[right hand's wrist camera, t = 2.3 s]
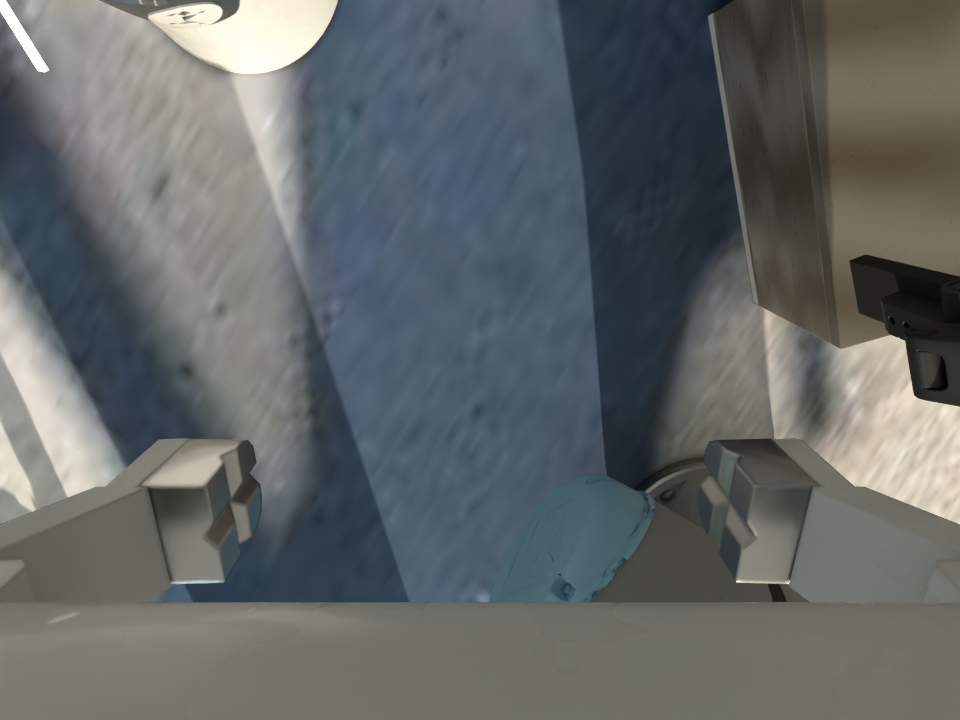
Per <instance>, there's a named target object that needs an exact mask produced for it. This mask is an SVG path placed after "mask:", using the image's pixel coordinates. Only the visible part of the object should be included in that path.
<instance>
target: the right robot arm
mask: <svg viewBox="0 0 960 720" xmlns="http://www.w3.org/2000/svg"><path fill="white" fill-rule="evenodd" d="M100 1H103V2H105V3H107V4H109V5H111V6H114V7H116V8H118V9H121V10H123V11H125V12H128V13H130V14H133V15H136V16H138V17H141V18H144V19H147V20H149V21H151V22H152V23H153V24H155V25H156V26H157V27H159V28H160V29H161V30H162V31H164V32H165V33H166V34H167V35H168V36H169V37H170V38H171V39H172V40H173V41H175V42H176V43H177V44H178V45H179V46H180V47H181V48H183V49H184V50H185V51H187V52H188V53H189V54H191V55H192V56H194V57H195V58H197V59H199V60H201V61H202V62H204V63H206V64H209V65H211V66H213V67H216V68H219V69H222V70H225V71H229V72H235V73H243V74H257V73H265V72H270V71H274V70H277V69H280V68H282V67H284V66H287V65H289V64H291V63H292V62H294V61H296V60H297V59H299V58H300V57H302V56H303V55H304V54H305V53H306V52H308V51H309V50H310V49H311V48H312V47H313V46H314V44H315V43H316V42H317V41H318V40H319V38H320V37H321V36H322V34H323V33H324V31H325V29H326V28H327V26H328V24H329V22H330V20H331V18H332V16H333V14H334V11H335V8H336V5H337V2H338V0H100ZM0 11H1V13H2V14H3V16H4V18H5V19H6V21H7V22H8V24H9V26H10V27H11V29H12V30H13V32H14V34H15V35H16V37H17V38H18V40H19V42H20V43H21V45H22V46H23V48H24V49H25V51H26V53H27V54H28V56H29V57H30V59H31V61H32V62H33V64H34V65H35V67H36V69H37V70H38V71H42V72H46V71H48V70H49V69H48V68H47V66H46V64H45V63H44V61H43V60H42V58H41V56H40V55H39V53H38V52H37V50H36V48H35V47H34V45H33V44H32V42H31V40H30V39H29V37H28V36H27V34H26V32H25V31H24V29H23V28H22V26H21V24H20V23H19V21H18V20H17V18H16V16H15V15H14V13H13V11H12V10H11V8H10V7H9V5H8V3H7V2H6V0H0ZM255 464H256V458H255V453H254V447H253V445H252V444H251V443H250V442H249V441H248V440H218V439H190V438H185V439H161V440H158V441H156V442H155V443H154V444H153V445H152V446H151V447H150V448H149V449H147V450H146V451H145V452H144V453H143V454H142V455H141V456H140V457H138V458H137V459H136V460H135V461H134V462H133V463H132V464H130V465H129V466H128V467H127V468H126V469H125V470H124V471H123V472H121V473H120V474H119V475H118V476H117V477H116V478H115V479H114V480H112V481H111V482H110V483H109V484H108V485H107V486H106V487H94V488H92V489H89V490H87V491H84V492H81V493H79V494H76V495H74V496H71V497H69V498H66V499H64V500H61V501H59V502H56V503H54V504H51V505H49V506H46V507H43V508H41V509H38V510H36V511H33V512H31V513H28V514H26V515H23V516H21V517H18V518H16V519H13V520H10V521H8V522H5V523H3V524H0V720H960V525H959V524H957V523H954V522H952V521H949V520H947V519H944V518H942V517H939V516H937V515H934V514H932V513H929V512H927V511H924V510H921V509H919V508H916V507H914V506H911V505H909V504H906V503H904V502H901V501H899V500H896V499H894V498H891V497H889V496H886V495H884V494H881V493H878V492H876V491H873V490H871V489H868V488H866V487H854V486H853V485H852V484H851V483H850V482H849V481H848V480H847V479H845V478H844V477H843V476H842V475H841V474H840V473H839V472H838V471H836V470H835V469H834V468H833V467H832V466H831V465H830V464H829V463H827V462H826V461H825V460H824V459H823V458H822V457H821V456H820V455H818V454H817V453H816V452H815V451H814V450H813V449H812V448H810V447H809V446H808V445H807V444H806V443H805V442H804V441H803V440H799V439H796V438H790V439H743V440H715V441H710V442H709V444H708V446H707V448H706V451H705V457H704V464H705V466H706V467H707V469H708V470H709V472H710V474H709V475H708V476H707V478H706V479H705V480H704V481H703V482H702V483H701V484H700V488H699V496H698V506H699V516H700V519H701V522H702V526H703V528H704V530H705V531H706V533H707V535H708V537H710V538H711V539H713V540H714V541H716V542H718V543H719V544H721V546H720V551H719V555H720V557H721V559H722V560H723V562H724V564H725V565H726V567H727V569H728V570H729V572H730V574H731V575H732V577H733V579H734V580H735V582H736V583H772V584H789V587H790V588H792V589H793V590H794V591H796V592H797V593H798V594H800V595H801V596H802V597H804V598H805V599H807V600H808V601H809V602H151V601H152V600H154V599H155V598H156V597H158V596H159V595H160V594H162V593H163V592H165V591H166V590H167V589H169V588H170V587H171V584H188V583H223V582H225V580H226V579H227V577H228V575H229V574H230V572H231V570H232V569H233V567H234V565H235V564H236V562H237V560H238V559H239V557H240V555H241V551H240V546H239V544H241V543H242V542H244V541H246V540H247V539H249V538H251V537H252V535H253V533H254V531H255V530H256V528H257V526H258V522H259V518H260V514H261V510H262V495H261V488H260V484H259V483H258V482H257V481H256V480H255V479H254V478H253V476H252V475H251V474H250V472H251V470H252V469H253V467H254V466H255Z"/></svg>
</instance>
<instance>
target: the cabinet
mask: <svg viewBox="0 0 960 720" xmlns="http://www.w3.org/2000/svg"><path fill="white" fill-rule="evenodd" d="M708 21H709V27H710V33H711V40H712V46H713V52H714V58H715V64H716V71H717V77H718V83H719V89H720V96H721V102H722V108H723V114H724V120H725V127H726V133H727V139H728V145H729V152H730V158H731V164H732V170H733V177H734V183H735V189H736V195H737V201H738V208H739V214H740V220H741V226H742V233H743V239H744V245H745V251H746V258H747V264H748V270H749V276H750V282H751V289H752V295H753V301H754V304H756V305H758V306H761V307H763V308H765V309H767V310H768V311H770V312H772V313H774V314H776V315H778V316H780V317H782V318H783V319H785V320H787V321H789V322H791V323H793V324H795V325H797V326H799V327H800V328H802V329H804V330H806V331H808V332H810V333H812V334H814V335H816V336H817V337H819V338H821V339H823V340H825V341H827V342H829V343H831V344H832V345H834V346H836V347H838V348H840V349H843V348H846V347H850V346H853V345H857V344H860V343H864V342H867V341H871V340H875V339H878V338H882V337H885V336H889V335H890V334H889V333H888V332H887V330H886V329H885V324H884V323H882V322H880V321H877V320H875V319H872V318H870V317H867V316H864V315H862V314H859V311H858V306H857V300H856V295H855V289H854V284H853V278H852V273H851V268H850V262H849V260H852V259H855V258H857V257H860V256H863V255H865V254H866V255H871V256H875V257H879V258H883V259H888V260H892V261H896V262H900V263H905V264H909V265H913V266H917V267H922V268H926V269H930V270H934V271H939V272H943V273H947V274H951V275H956V276H960V0H734V1H732V2H731V3H729V4H728V5H726V6H724V7H723V8H721V9H720V10H718V11H716V12H715V13H712V14H711V15H709V16H708Z"/></svg>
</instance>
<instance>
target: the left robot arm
mask: <svg viewBox="0 0 960 720" xmlns="http://www.w3.org/2000/svg"><path fill="white" fill-rule="evenodd" d="M849 262H850V268H851V273H852V278H853V284H854V289H855V295H856V300H857V306H858V311H859V314H862V315H864V316H867V317H870V318H872V319H875V320H877V321H880V322H882V323H884V324H885V329H886V330H887V332H888V333H889V334H890V335H893V336H895V337H899V338H900V339H902V340H905V342H906V349H907V355H908V362H909V368H910V374H911V381H912V386H913V392H914V395H915V396H916V397H917V398H919V399H923V400H927V401H932V402H938V403H943V404H949V405H954V406H960V276H956V275H951V274H947V273H943V272H939V271H934V270H930V269H926V268H922V267H917V266H913V265H909V264H905V263H900V262H896V261H892V260H888V259H883V258H879V257H875V256H871V255H866V254H865V255H863V256H860V257H857V258H855V259H852V260H849ZM709 474H710V472H709V470H708V469H707V467H706V466H705V464H704V458H695V459H689V460H685V461H681V462H678V463H675V464H672V465H670V466H667V467H665V468H663V469H661V470H660V471H658V472H656V473H655V474H653V475H652V476H650V477H649V478H647V479H646V480H645V481H644V482H643V483H642V484H640V486H639V487H638V488H637V489H636V490H633V489H631V488H630V487H628V486H626V485H624V484H622V483H620V482H618V481H616V480H614V479H612V478H610V477H608V476H605V475H600V474H586V475H582V476H578V477H576V478H573V479H571V480H569V481H567V482H566V483H564V484H562V485H561V486H559V487H558V488H557V489H556V490H554V491H553V492H552V493H551V494H550V495H548V496H547V497H546V498H545V499H544V500H543V501H542V502H541V503H540V504H539V506H538V507H537V508H536V509H535V510H534V511H533V513H532V514H531V515H530V517H529V518H528V519H527V520H526V522H525V523H524V524H523V526H522V527H521V529H520V530H519V532H518V533H517V535H516V536H515V538H514V540H513V541H512V543H511V545H510V547H509V549H508V551H507V552H506V554H505V557H504V559H503V561H502V563H501V565H500V568H499V570H498V572H497V575H496V578H495V581H494V583H493V587H492V590H491V595H490V600H489V602H809V601H808V600H807V599H805V598H804V597H802V596H801V595H800V594H798V593H797V592H796V591H794V590H793V589H792V588H790V587H789V584H772V583H736V582H735V580H734V579H733V577H732V575H731V574H730V572H729V570H728V569H727V567H726V565H725V564H724V562H723V560H722V559H721V557H720V555H719V551H720V546H721V544H719V543H718V542H716V541H714V540H713V539H711V538H710V537H708V535H707V533H706V531H705V530H704V528H703V526H702V522H701V519H700V516H699V506H698V496H699V488H700V484H701V483H702V482H703V481H704V480H705V479H706V478H707V476H708V475H709Z"/></svg>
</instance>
